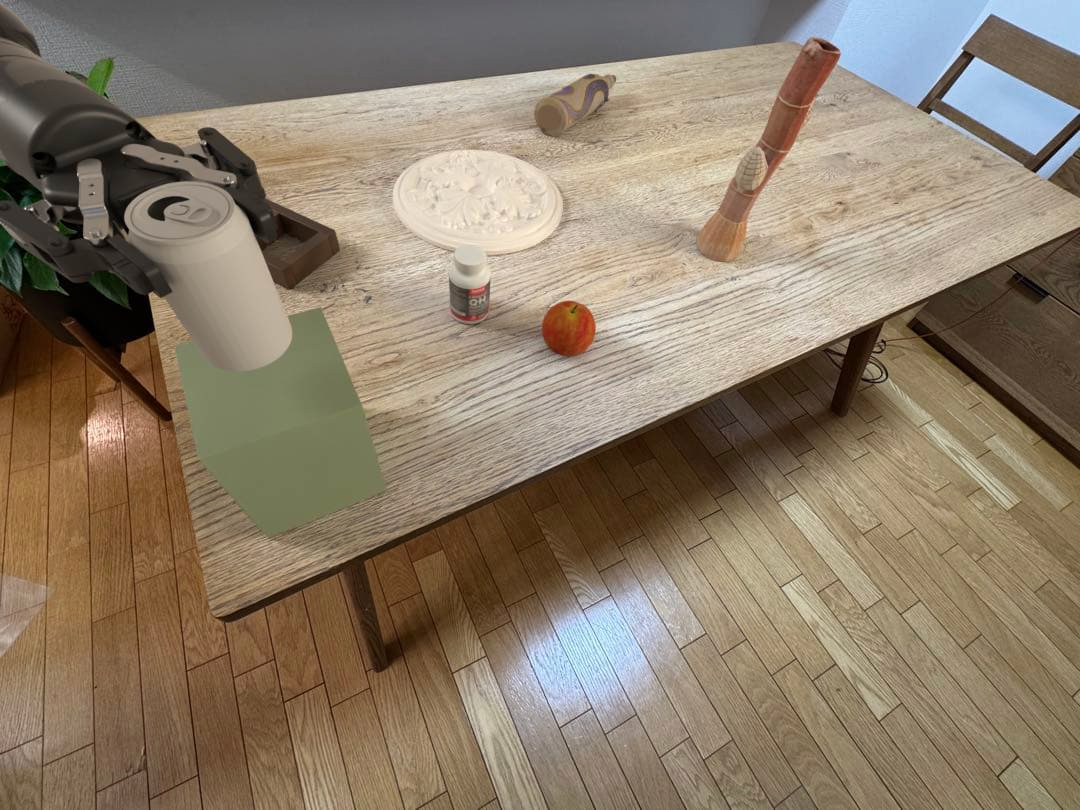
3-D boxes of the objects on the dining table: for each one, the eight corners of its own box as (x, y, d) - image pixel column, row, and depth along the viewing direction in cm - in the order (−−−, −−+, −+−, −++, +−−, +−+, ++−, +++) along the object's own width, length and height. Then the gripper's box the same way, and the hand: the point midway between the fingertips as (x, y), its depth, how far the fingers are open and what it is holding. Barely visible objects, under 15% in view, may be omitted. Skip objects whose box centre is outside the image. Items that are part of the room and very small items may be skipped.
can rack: (289, 290, 70) (282, 270, 67) (184, 238, 73) (172, 216, 70) (340, 250, 75) (335, 230, 72) (240, 203, 79) (231, 182, 76)
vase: (708, 266, 83) (808, 57, 58) (684, 238, 86) (768, 30, 62) (759, 254, 86) (874, 52, 62) (733, 228, 90) (832, 27, 65)
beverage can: (237, 305, 41) (165, 165, 32) (311, 327, 41) (262, 192, 31) (185, 363, 38) (86, 225, 28) (266, 388, 37) (195, 256, 28)
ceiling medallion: (586, 187, 92) (590, 171, 89) (517, 278, 76) (519, 261, 73) (449, 138, 96) (448, 120, 93) (357, 214, 80) (353, 195, 78)
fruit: (528, 344, 69) (534, 300, 62) (563, 320, 72) (573, 276, 66) (565, 375, 66) (575, 333, 60) (600, 350, 70) (613, 307, 63)
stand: (387, 490, 55) (361, 404, 42) (268, 538, 50) (198, 459, 37) (353, 405, 60) (320, 306, 47) (242, 442, 56) (174, 345, 43)
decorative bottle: (562, 143, 99) (567, 107, 94) (531, 129, 101) (534, 92, 96) (626, 100, 113) (634, 66, 107) (597, 88, 115) (604, 54, 109)
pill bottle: (475, 331, 69) (475, 275, 61) (442, 314, 70) (438, 257, 62) (496, 308, 72) (499, 251, 64) (464, 292, 73) (463, 234, 65)
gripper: (-116, 117, 28) (44, 261, 24) (144, 49, 36) (303, 150, 31) (-12, 231, 35) (130, 363, 30) (191, 153, 42) (330, 250, 37)
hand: (218, 254), depth 31 cm, fingers closed on beverage can, 6 cm apart
